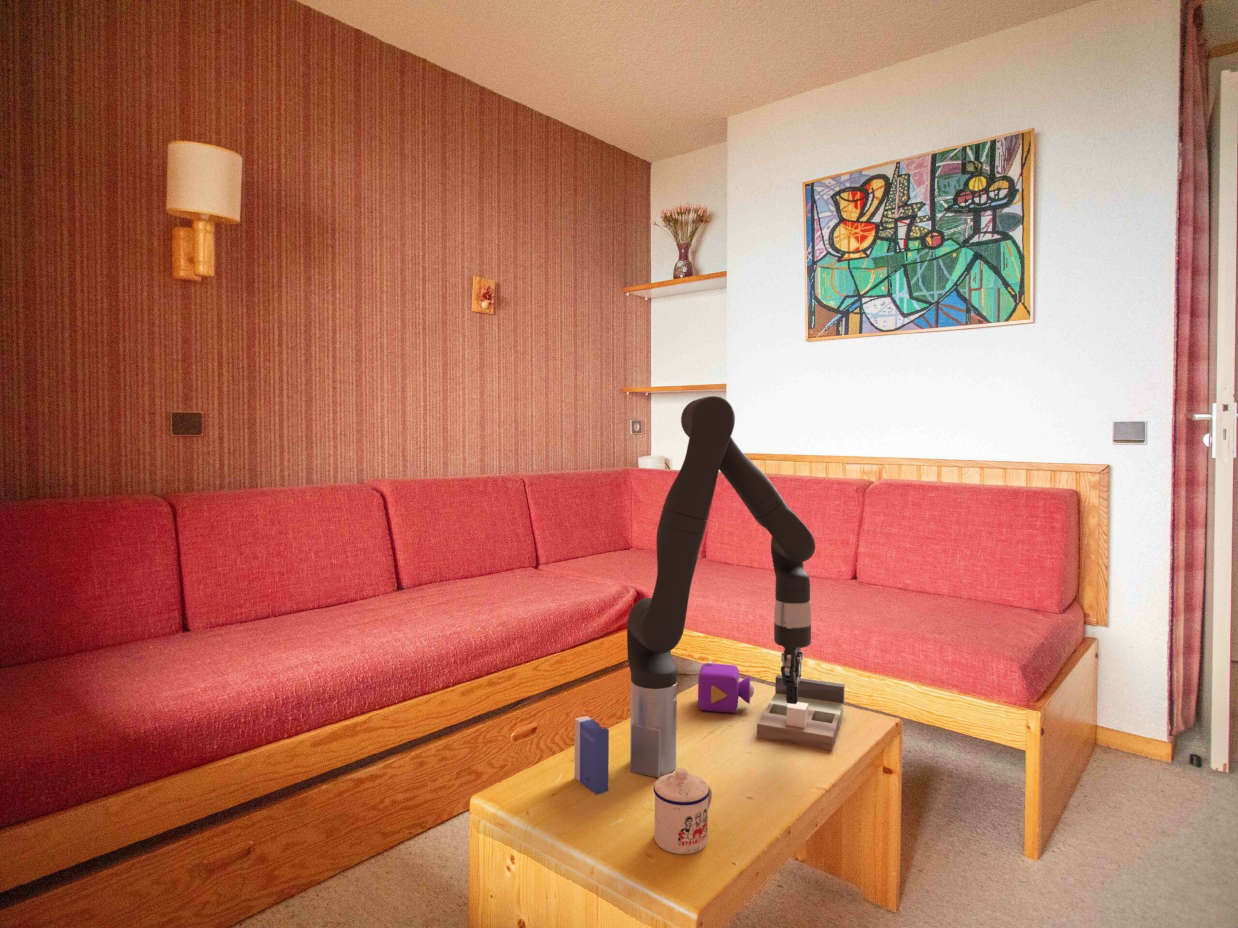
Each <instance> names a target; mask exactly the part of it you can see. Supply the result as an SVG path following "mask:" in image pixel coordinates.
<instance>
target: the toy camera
mask: <svg viewBox="0 0 1238 928" xmlns="http://www.w3.org/2000/svg"><path fill="white" fill-rule="evenodd" d="M698 673H699V674H698V679H697V680H698V682H697V704H698V708H699V710H702V711H707V712H715V713H716V712H717V713H725V714H726V713H727V714H728V713H731V714H732V713H735V712H736V711H737V709H738V703H739V698H741V700H743V701H744V702H745V703H747V704H748V705H750V702H751V698H752V697H753V696H754V694H755V687H754V684H753V683H752V682H751V676H750V675H748V676H746V677H745V678H744V679H742V680H740V671H739V668H738V666H736V665H735V664H726V663H724V664H723V663H714V661H711V660H708V661H707V662H706V663H703V664H702V665H701V666H700V670H699V672H698Z"/></svg>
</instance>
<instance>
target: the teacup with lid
mask: <svg viewBox="0 0 1238 928" xmlns="http://www.w3.org/2000/svg"><path fill="white" fill-rule="evenodd" d="M653 793H654V840H655V842H656V844H657V845H658V847H660V848H661V849H662V850H664V851H666V852H668V853H671V854H675V855H676V854H677V855H691V854H695V853H698V852H699V851H701V850H703V849H704V848H705V847H706V845H707V843H708V818H709V817H708V812H709V811H708V810H709V809H710V806H711V803H712V799H713V790H712V787H710V786H709V785H708V784H707V782H706V781H705V780H704V779H703V778H701V777H699V776H697V775H695V774H691V773H688V770H687V769H686V768H683V767H681V768H677V769H676V770H675V771H674V772H670V773H668V774H665V775H662V776H661V777H660V778H658V779H657V780H656V781H655V782H654V785H653Z"/></svg>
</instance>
